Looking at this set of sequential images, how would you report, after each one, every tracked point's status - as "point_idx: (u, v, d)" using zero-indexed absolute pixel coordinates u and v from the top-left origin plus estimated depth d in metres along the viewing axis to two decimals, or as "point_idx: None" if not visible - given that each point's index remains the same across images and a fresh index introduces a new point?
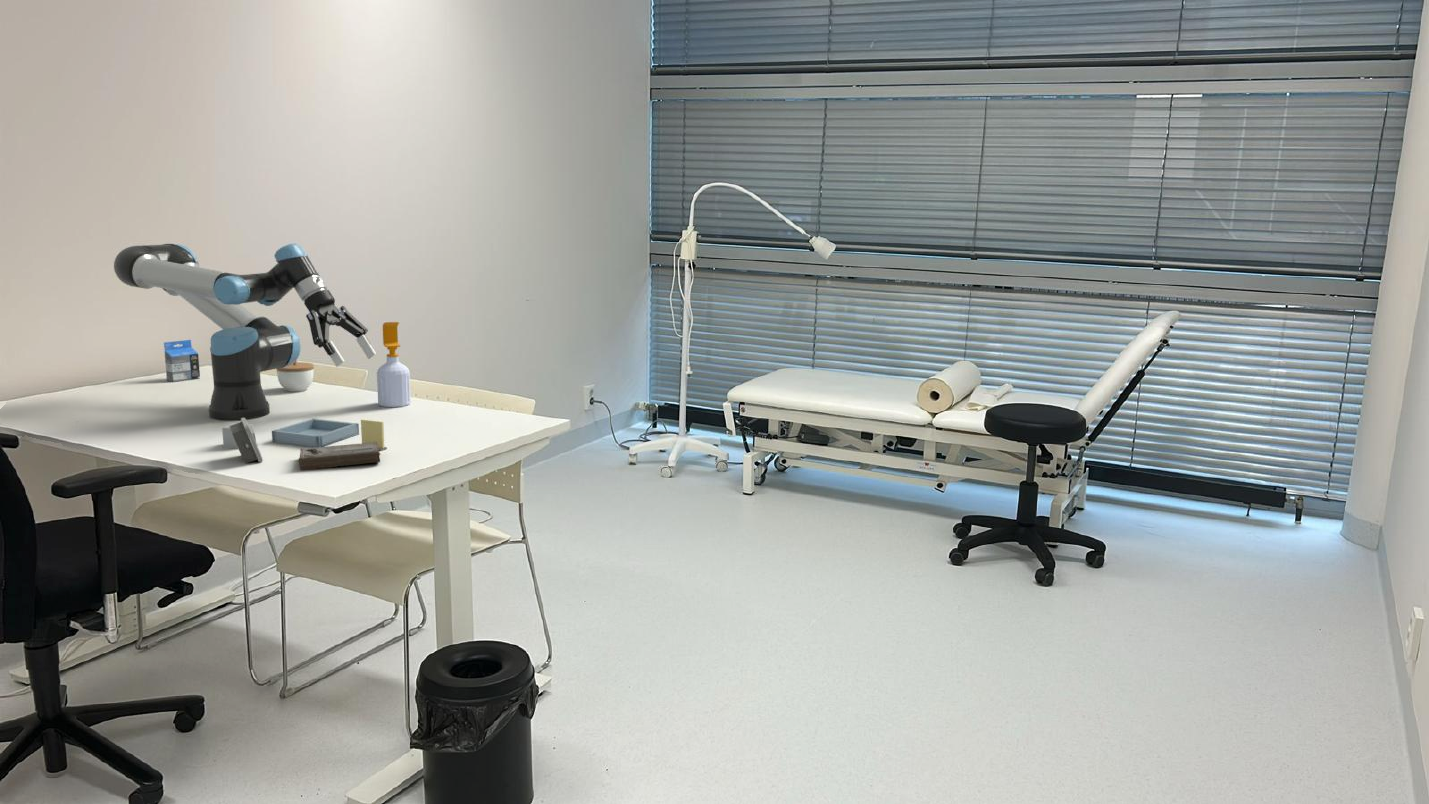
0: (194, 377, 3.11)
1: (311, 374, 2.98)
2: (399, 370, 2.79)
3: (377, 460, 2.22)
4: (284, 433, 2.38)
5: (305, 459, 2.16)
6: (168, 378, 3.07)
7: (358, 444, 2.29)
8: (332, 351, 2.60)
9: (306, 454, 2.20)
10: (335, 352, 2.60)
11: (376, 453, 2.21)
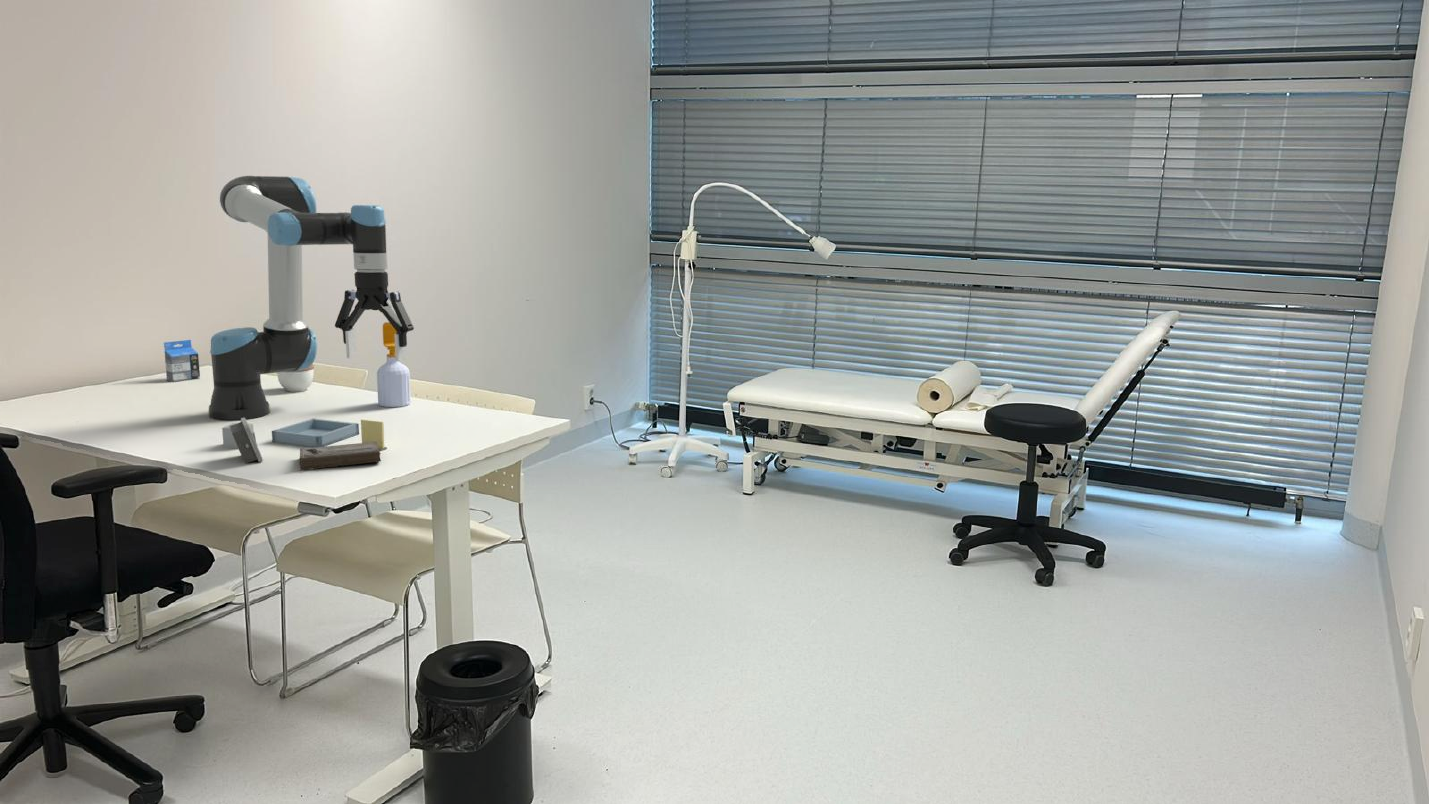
0: (194, 377, 3.11)
1: (311, 374, 2.98)
2: (399, 370, 2.79)
3: (378, 459, 2.22)
4: (284, 433, 2.38)
5: (306, 459, 2.16)
6: (168, 378, 3.07)
7: (358, 444, 2.29)
8: (345, 342, 2.35)
9: (306, 454, 2.20)
10: None
11: (377, 453, 2.22)
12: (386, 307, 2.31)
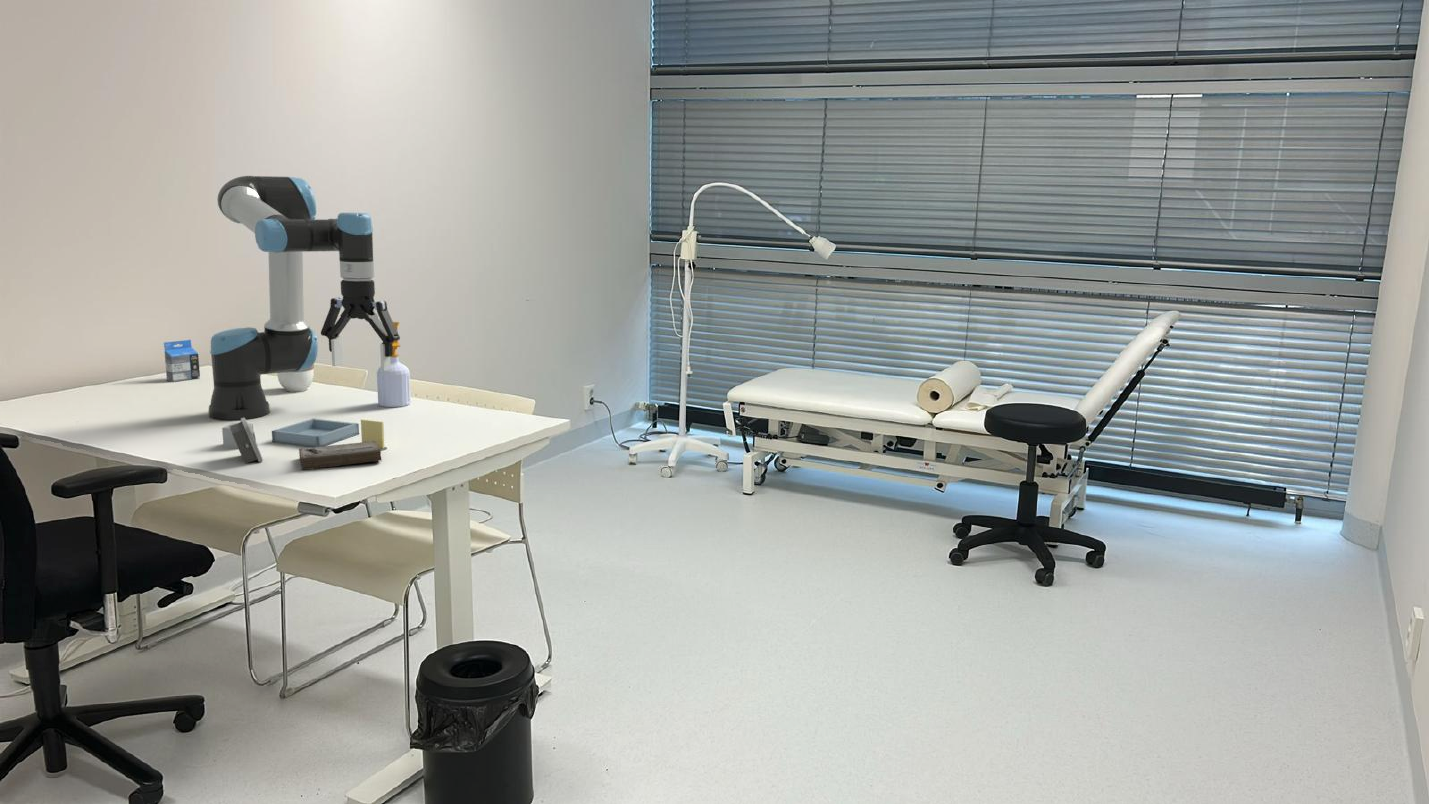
0: (194, 377, 3.11)
1: (311, 374, 2.98)
2: (399, 370, 2.79)
3: (378, 459, 2.23)
4: (284, 433, 2.38)
5: (307, 459, 2.17)
6: (168, 378, 3.07)
7: (357, 443, 2.29)
8: (331, 350, 2.33)
9: (306, 454, 2.20)
10: None
11: (377, 452, 2.23)
12: (372, 316, 2.28)
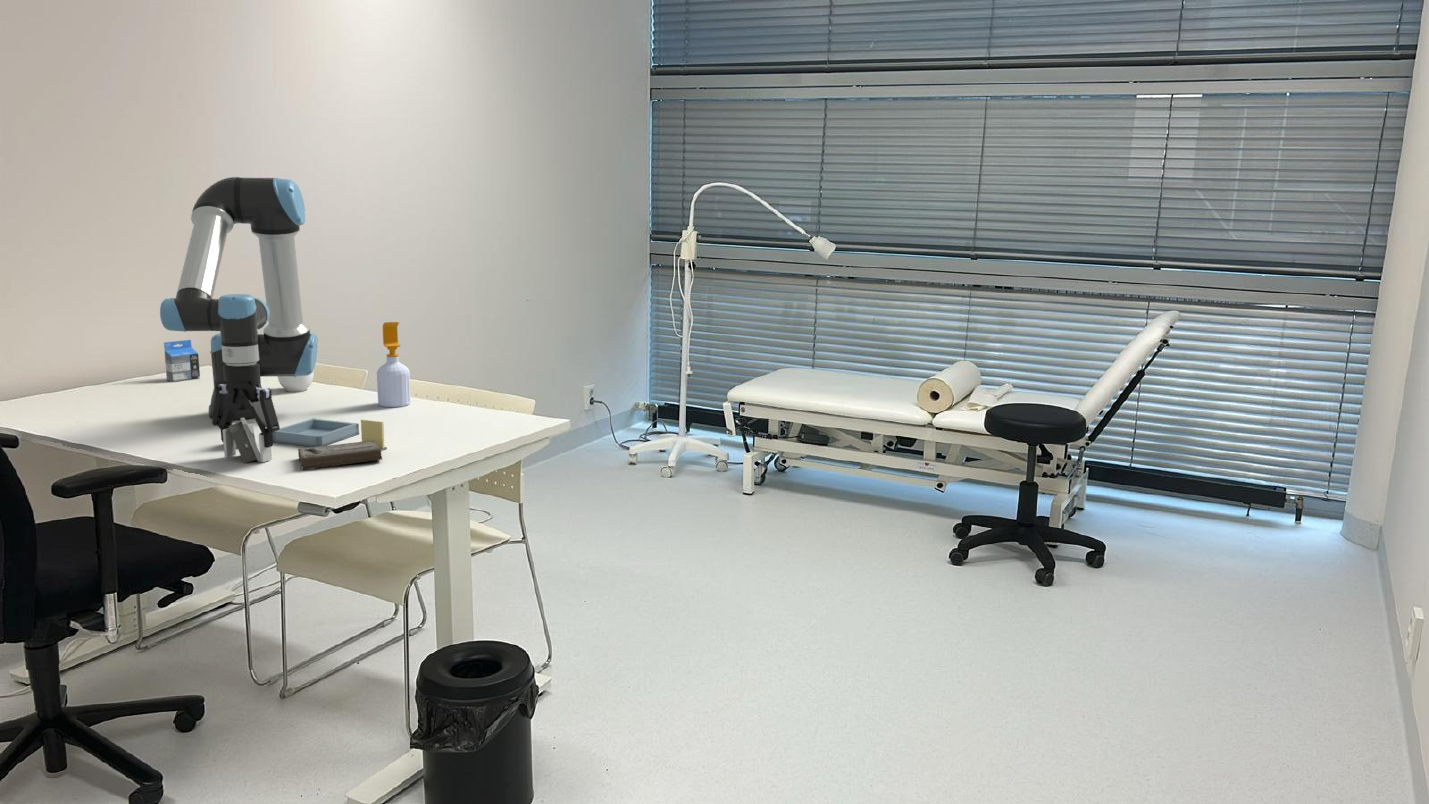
0: (194, 377, 3.11)
1: (311, 374, 2.98)
2: (399, 370, 2.79)
3: (379, 458, 2.24)
4: (284, 433, 2.38)
5: (308, 459, 2.17)
6: (168, 378, 3.07)
7: (356, 443, 2.30)
8: None
9: (307, 454, 2.20)
10: None
11: (378, 451, 2.23)
12: (255, 403, 2.20)
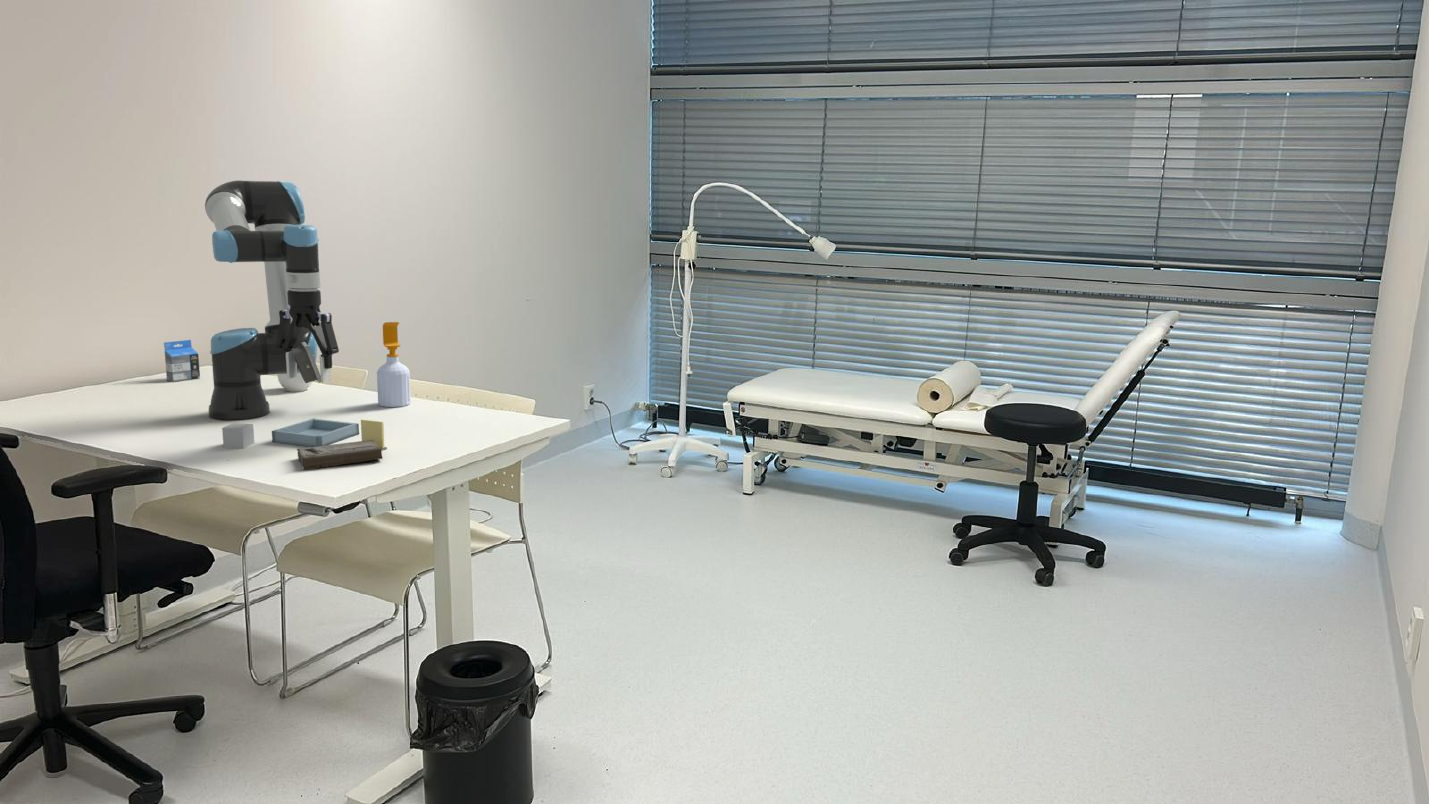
0: (194, 377, 3.11)
1: None
2: (399, 370, 2.79)
3: (379, 457, 2.24)
4: (284, 433, 2.38)
5: (309, 458, 2.17)
6: (168, 378, 3.07)
7: (355, 442, 2.30)
8: None
9: (307, 454, 2.20)
10: None
11: (379, 450, 2.24)
12: (316, 327, 2.36)
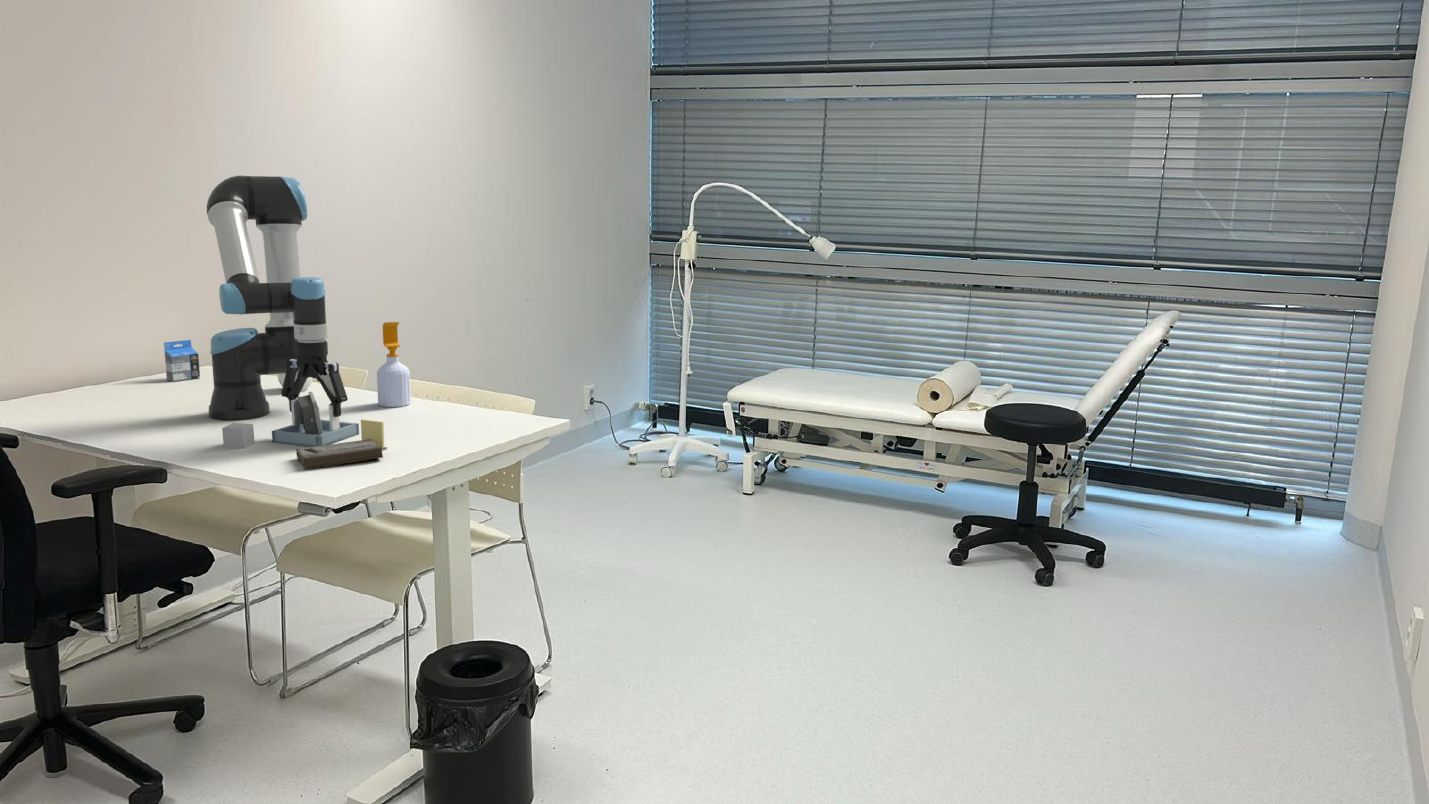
0: (194, 377, 3.11)
1: None
2: (399, 370, 2.79)
3: (380, 456, 2.25)
4: (284, 433, 2.38)
5: (310, 458, 2.17)
6: (168, 378, 3.07)
7: (353, 442, 2.30)
8: (291, 410, 2.44)
9: (307, 454, 2.20)
10: None
11: (379, 449, 2.25)
12: (324, 377, 2.40)
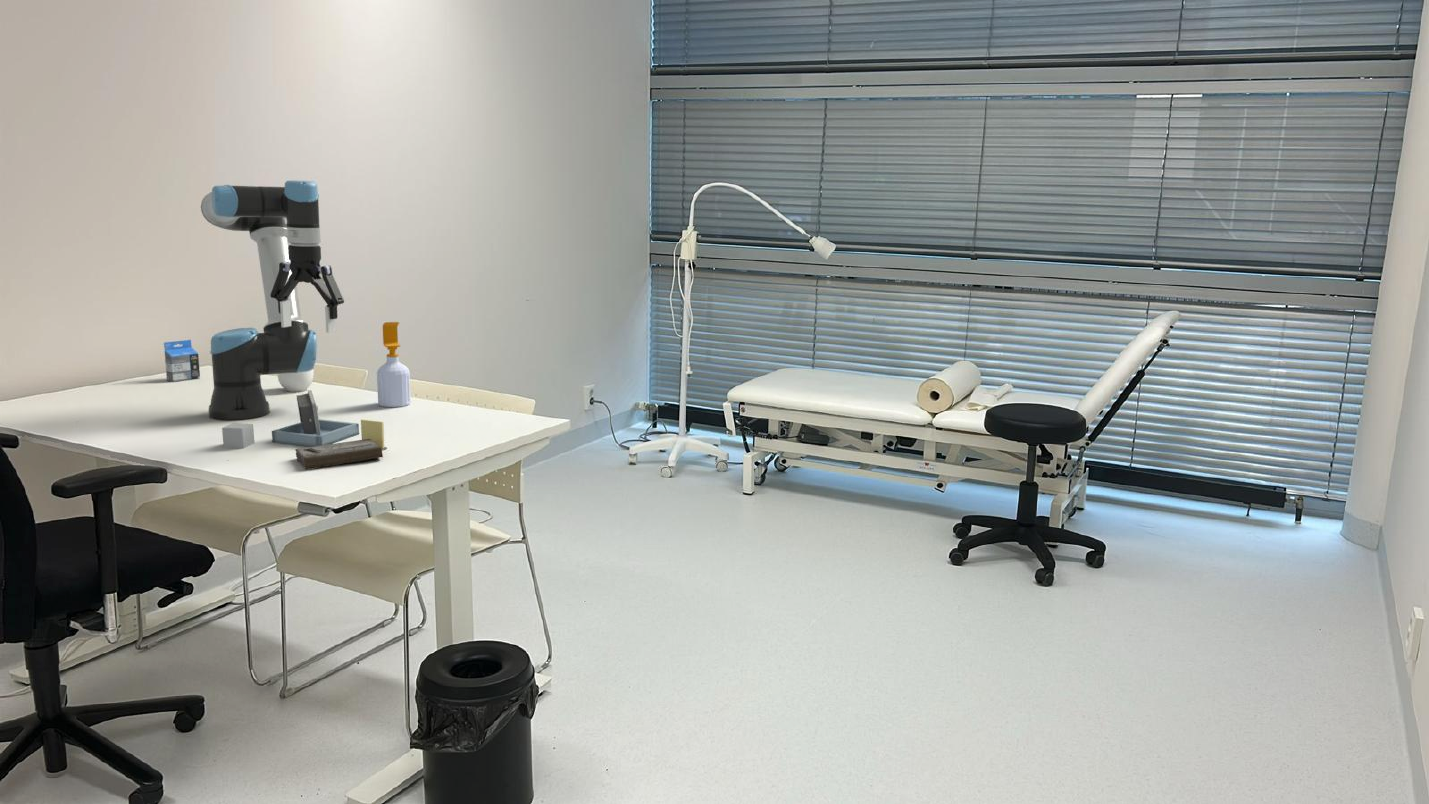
0: (194, 377, 3.11)
1: (311, 374, 2.98)
2: (399, 370, 2.79)
3: (380, 455, 2.26)
4: (284, 433, 2.38)
5: (311, 458, 2.17)
6: (168, 378, 3.07)
7: (352, 441, 2.31)
8: (280, 312, 2.45)
9: (307, 454, 2.20)
10: None
11: (379, 449, 2.25)
12: (318, 280, 2.40)
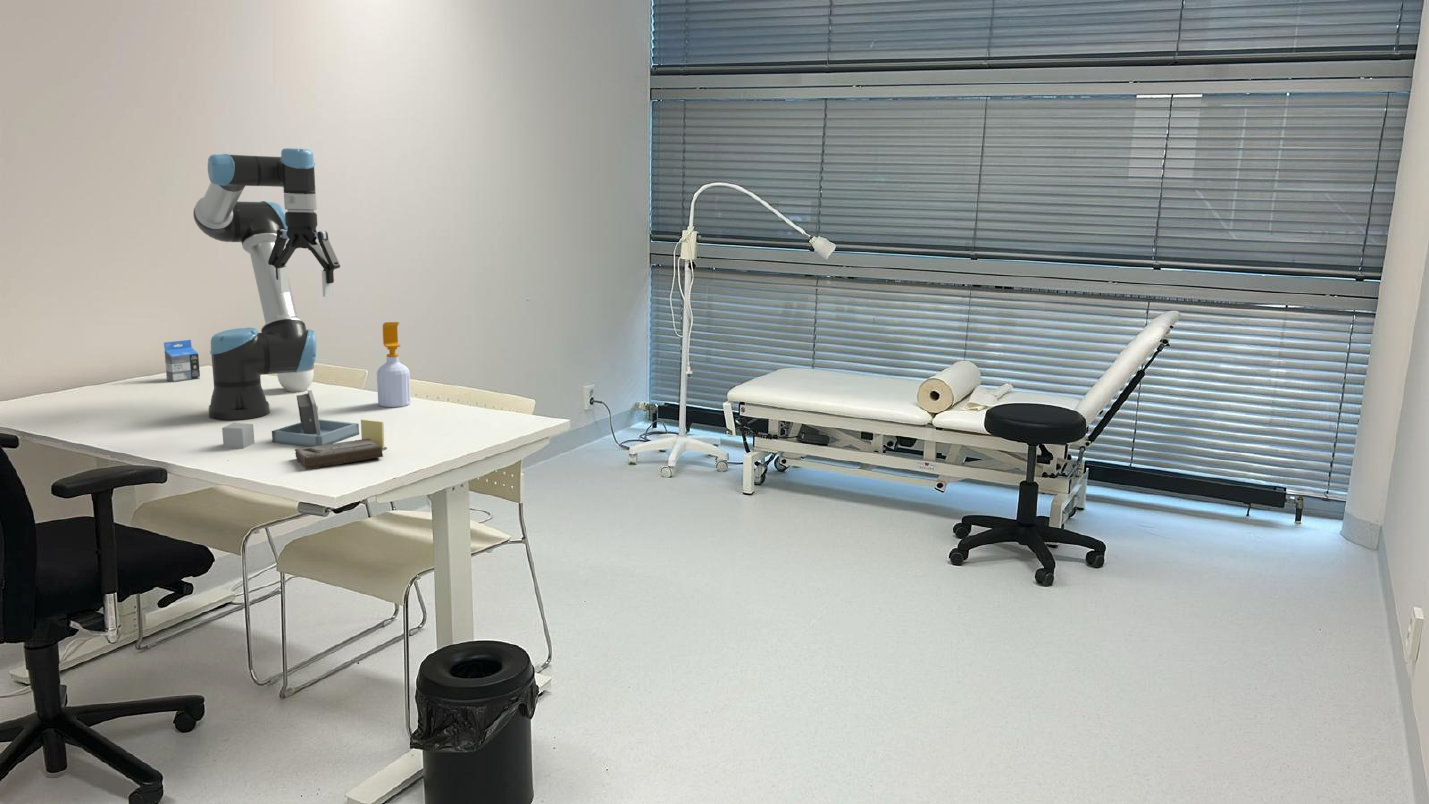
0: (194, 377, 3.11)
1: (311, 374, 2.98)
2: (399, 370, 2.79)
3: (380, 455, 2.26)
4: (284, 433, 2.38)
5: (311, 458, 2.17)
6: (168, 378, 3.07)
7: (352, 441, 2.31)
8: (278, 278, 2.51)
9: (307, 453, 2.20)
10: None
11: (379, 448, 2.26)
12: (314, 245, 2.46)
